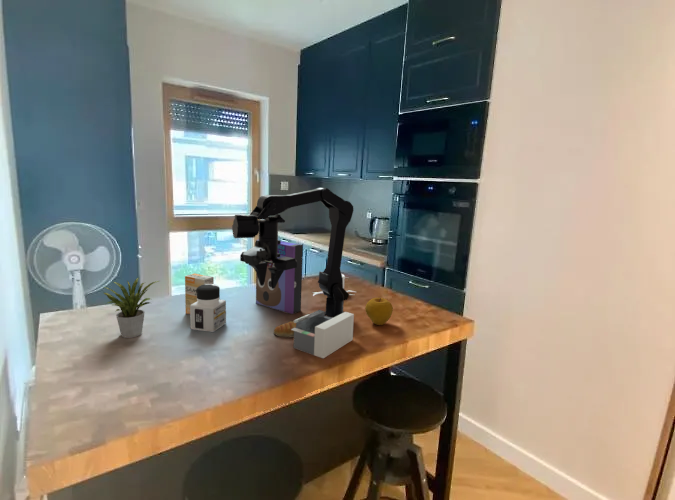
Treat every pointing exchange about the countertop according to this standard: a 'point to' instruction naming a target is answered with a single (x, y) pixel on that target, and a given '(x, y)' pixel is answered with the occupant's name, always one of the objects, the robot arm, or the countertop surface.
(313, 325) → the gauge pad
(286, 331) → the pastry
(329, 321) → the white grey open box
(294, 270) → the cereal box
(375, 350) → the countertop surface
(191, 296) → the supplement box
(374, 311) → the apple
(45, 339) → the countertop surface
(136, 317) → the house plant
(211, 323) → the container
